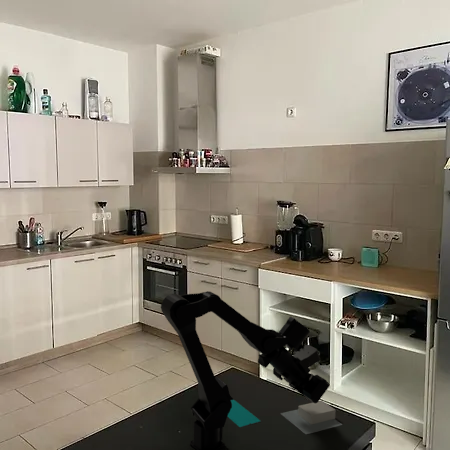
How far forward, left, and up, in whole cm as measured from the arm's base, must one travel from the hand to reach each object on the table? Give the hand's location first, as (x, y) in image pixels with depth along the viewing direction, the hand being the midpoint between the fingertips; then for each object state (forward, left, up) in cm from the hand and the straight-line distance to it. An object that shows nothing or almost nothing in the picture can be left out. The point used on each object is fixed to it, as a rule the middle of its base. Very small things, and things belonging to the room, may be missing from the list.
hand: (316, 395), depth 126 cm
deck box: (-3, +1, -5) cm, 6 cm away
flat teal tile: (-16, +15, -7) cm, 23 cm away
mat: (-2, 0, -7) cm, 7 cm away
